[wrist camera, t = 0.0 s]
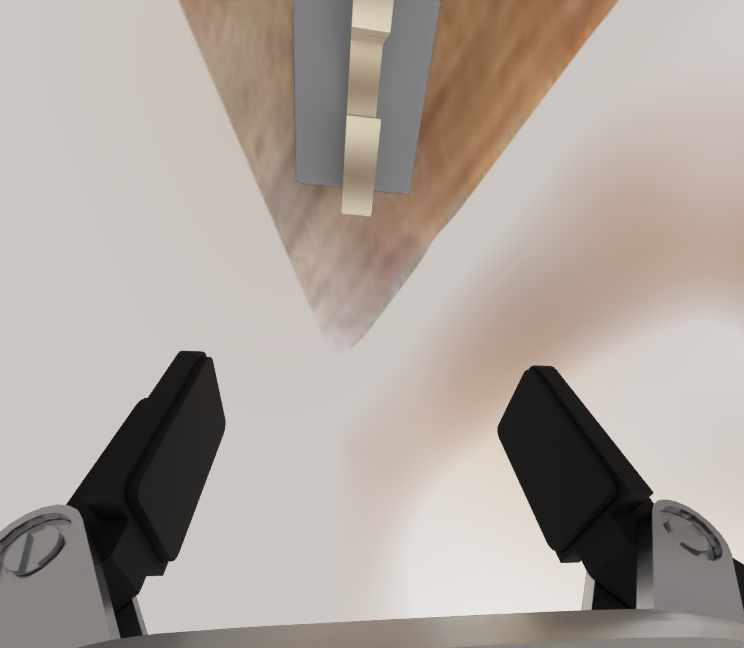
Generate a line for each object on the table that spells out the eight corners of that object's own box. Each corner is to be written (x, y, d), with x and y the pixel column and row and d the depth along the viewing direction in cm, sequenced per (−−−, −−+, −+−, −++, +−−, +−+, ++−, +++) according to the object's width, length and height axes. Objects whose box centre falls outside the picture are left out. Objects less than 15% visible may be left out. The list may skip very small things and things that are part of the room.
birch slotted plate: (356, -65, 25) (361, -152, 16) (387, -59, 25) (408, -141, 17) (342, 187, 34) (341, 213, 26) (365, 189, 35) (370, 216, 26)
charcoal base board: (293, -130, 24) (290, -144, 22) (452, -97, 25) (458, -108, 24) (298, 180, 35) (296, 182, 34) (407, 191, 37) (409, 194, 35)
